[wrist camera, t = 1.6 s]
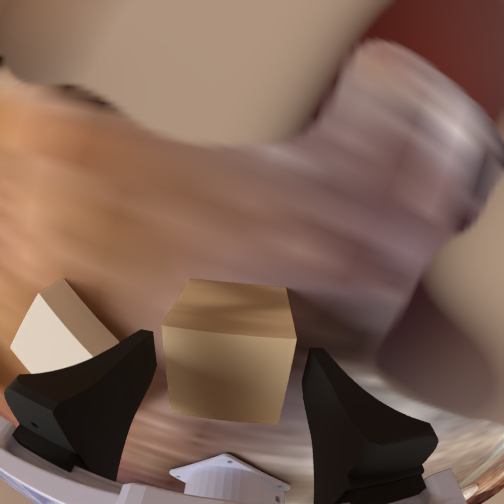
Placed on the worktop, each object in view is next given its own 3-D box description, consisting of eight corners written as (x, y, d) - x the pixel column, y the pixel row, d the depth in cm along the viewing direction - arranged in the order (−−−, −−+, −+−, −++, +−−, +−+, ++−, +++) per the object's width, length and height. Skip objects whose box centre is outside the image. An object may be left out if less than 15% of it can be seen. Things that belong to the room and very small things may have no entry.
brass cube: (285, 286, 15) (296, 339, 10) (274, 362, 16) (277, 424, 11) (190, 277, 15) (161, 325, 10) (191, 354, 16) (171, 412, 11)
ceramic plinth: (147, 364, 17) (132, 393, 14) (96, 399, 18) (81, 422, 15) (66, 275, 15) (38, 292, 12) (30, 330, 17) (9, 347, 14)
